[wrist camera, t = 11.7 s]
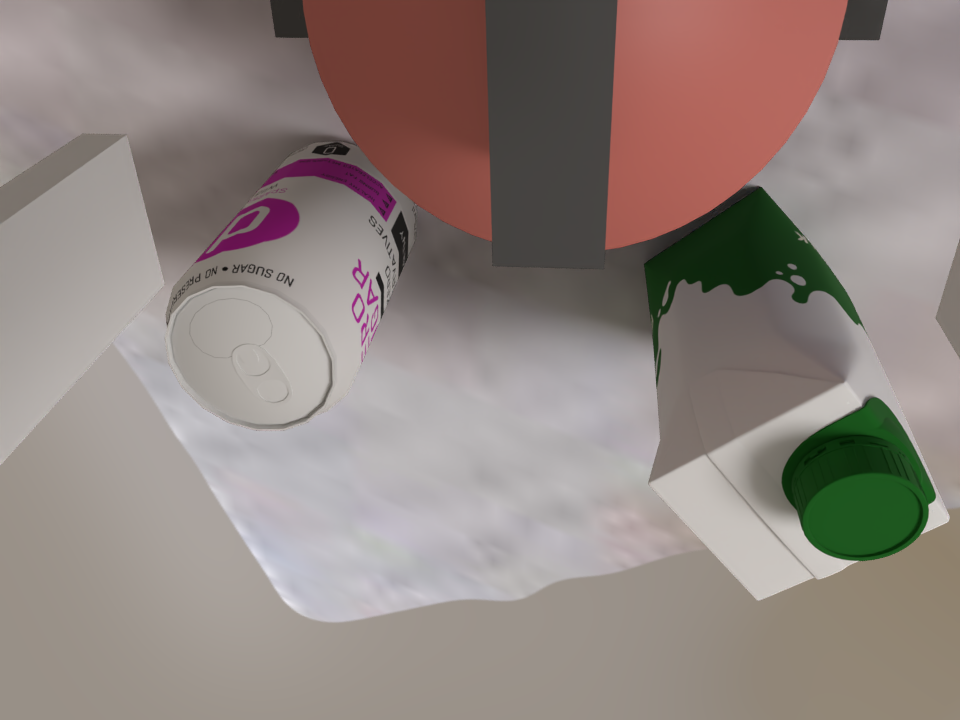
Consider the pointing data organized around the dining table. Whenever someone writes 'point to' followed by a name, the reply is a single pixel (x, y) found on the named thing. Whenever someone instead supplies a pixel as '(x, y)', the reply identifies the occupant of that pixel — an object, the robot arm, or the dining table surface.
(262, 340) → the supplement can
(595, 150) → the lid
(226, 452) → the dining table surface
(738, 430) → the milk carton
